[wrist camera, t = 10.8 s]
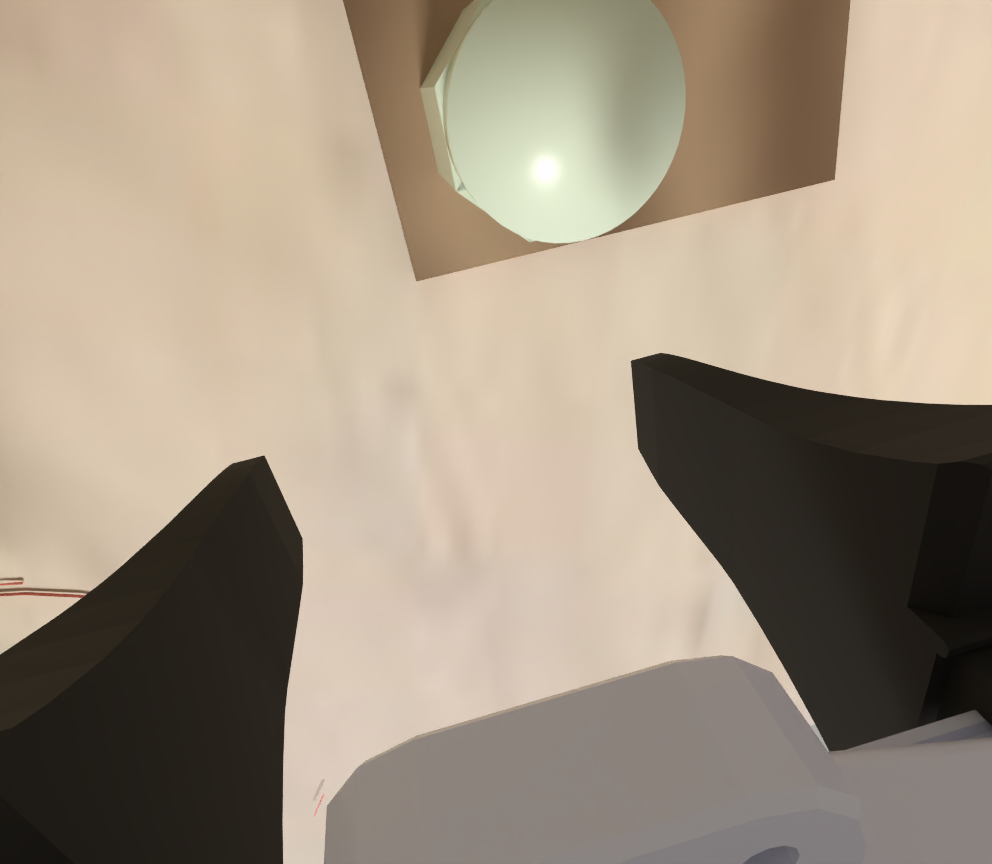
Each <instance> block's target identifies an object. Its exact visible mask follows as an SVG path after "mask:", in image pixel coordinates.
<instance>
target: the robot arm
mask: <svg viewBox="0 0 992 864" xmlns="http://www.w3.org/2000/svg"><path fill="white" fill-rule="evenodd" d="M631 367H632V379H633V391H634V403H635V415H636V427H637V439H638V449H639V451H640V453H641V454H642V456H643V458H644V460H645V462H646V464H647V466H648V467H649V469H650V471H651V473H652V474H653V476H654V478H655V480H656V481H657V483H658V485H659V486H660V488H661V489H662V490H663V492H664V493H665V494H666V496H667V497H668V498H669V499H670V501H671V502H672V503H673V505H674V506H675V507H676V509H677V510H678V511H679V512H680V514H681V515H682V516H683V518H684V519H685V520H686V521H687V523H688V524H689V525H690V526H691V528H692V529H693V530H694V531H695V533H696V534H697V535H698V537H699V538H700V539H701V540H702V542H703V543H704V544H705V545H706V547H707V548H708V549H709V551H710V552H711V553H712V554H713V556H714V557H715V558H716V559H717V561H718V562H719V563H720V565H721V566H722V567H723V569H724V570H725V572H726V573H727V574H728V576H729V577H730V579H731V580H732V581H733V583H734V584H735V586H736V588H737V589H738V591H739V592H740V594H741V596H742V597H743V599H744V601H745V602H746V604H747V605H748V607H749V609H750V610H751V612H752V614H753V615H754V617H755V618H756V620H757V622H758V623H759V625H760V627H761V628H762V630H763V632H764V634H765V635H766V637H767V639H768V640H769V642H770V644H771V646H772V647H773V649H774V651H775V652H776V654H777V656H778V658H779V659H780V661H781V663H782V664H783V666H784V668H785V670H786V671H787V673H788V675H789V677H790V679H791V681H792V682H793V684H794V686H795V688H796V690H797V691H798V693H799V695H800V697H801V699H802V701H803V702H804V704H805V706H806V708H807V710H808V712H809V713H810V715H811V717H812V719H813V721H814V723H815V724H816V726H817V728H818V730H819V732H820V734H821V736H822V737H823V740H824V742H825V744H826V745H827V747H828V749H829V752H828V751H827V750H826V748H825V747H824V745H823V744H822V742H821V741H820V740H819V738H818V737H817V735H816V734H815V733H814V731H813V730H812V728H811V727H810V725H809V724H808V723H807V721H806V720H805V718H804V717H803V715H802V714H801V713H800V711H799V710H798V708H797V707H796V706H795V704H794V703H793V701H792V700H791V698H790V697H789V696H788V694H787V693H786V691H785V690H784V689H783V687H782V686H781V684H780V683H779V681H778V680H777V679H776V677H775V676H774V674H773V673H772V672H770V671H767V670H765V669H762V668H760V667H757V666H755V665H752V664H750V663H748V662H745V661H743V660H740V659H738V658H735V657H733V656H713V657H703V658H694V659H685V660H676V661H669V662H666V663H662V664H659V665H656V666H652V667H649V668H645V669H642V670H639V671H635V672H632V673H628V674H625V675H622V676H618V677H615V678H611V679H608V680H605V681H601V682H598V683H594V684H591V685H588V686H584V687H581V688H577V689H574V690H571V691H567V692H564V693H561V694H557V695H554V696H550V697H547V698H544V699H540V700H537V701H533V702H530V703H527V704H523V705H520V706H516V707H513V708H510V709H506V710H503V711H499V712H496V713H493V714H489V715H486V716H482V717H479V718H476V719H472V720H469V721H465V722H462V723H459V724H455V725H452V726H449V727H445V728H442V729H438V730H435V731H432V732H428V733H425V734H421V735H418V736H415V737H413V738H411V739H409V740H407V741H405V742H403V743H401V744H399V745H397V746H395V747H393V748H391V749H389V750H387V751H385V752H383V753H381V754H379V755H377V756H375V757H373V758H371V759H369V760H367V761H365V762H364V763H363V764H361V765H360V766H359V767H358V768H357V769H356V770H355V771H354V773H353V774H352V775H351V776H350V778H349V779H348V780H347V781H346V783H345V784H344V785H343V786H342V788H341V789H340V790H339V791H338V793H337V794H336V795H335V796H334V798H333V799H332V800H331V802H330V803H329V804H328V805H327V815H326V834H325V853H324V864H992V405H950V404H925V403H912V402H899V401H885V400H875V399H866V398H858V397H851V396H844V395H838V394H831V393H824V392H818V391H813V390H807V389H802V388H797V387H793V386H789V385H784V384H780V383H775V382H771V381H767V380H763V379H759V378H755V377H751V376H747V375H744V374H740V373H736V372H733V371H729V370H726V369H722V368H719V367H715V366H712V365H708V364H705V363H701V362H698V361H694V360H691V359H687V358H683V357H679V356H675V355H671V354H664V353H659V354H655V355H651V356H647V357H643V358H640V359H636V360H632V361H631ZM302 586H303V542H302V537H301V535H300V532H299V530H298V528H297V526H296V524H295V521H294V519H293V517H292V515H291V513H290V510H289V508H288V506H287V504H286V502H285V500H284V497H283V495H282V493H281V491H280V489H279V486H278V484H277V482H276V480H275V478H274V475H273V473H272V471H271V469H270V467H269V465H268V462H267V460H266V458H265V456H260V457H256V458H253V459H249V460H245V461H241V462H237V463H233V464H231V465H230V466H228V467H227V468H226V469H225V470H223V471H222V472H221V473H220V474H219V475H218V476H217V477H216V478H214V479H213V480H212V481H211V482H210V483H209V484H208V485H207V486H206V487H205V488H204V489H203V490H202V491H201V492H200V493H199V494H198V495H197V496H196V497H195V498H194V499H193V500H192V501H191V502H190V503H189V504H188V505H187V506H186V507H185V508H184V509H183V510H182V511H181V512H180V513H179V514H178V515H177V516H176V517H175V518H174V519H173V520H172V521H171V522H169V523H168V524H167V525H166V526H165V527H164V528H163V529H162V530H161V531H160V532H159V533H158V534H157V535H156V536H154V537H153V538H152V539H151V540H150V541H149V542H148V543H147V544H146V545H145V546H143V547H142V548H141V549H140V550H139V551H138V552H137V553H136V554H135V555H134V556H132V557H131V558H130V559H129V560H128V561H127V562H126V563H125V564H124V565H123V566H121V567H120V568H119V569H118V570H117V571H115V572H114V573H113V574H112V575H111V576H109V577H108V578H107V579H106V580H104V581H103V582H102V583H101V584H100V585H98V586H97V587H96V588H94V589H93V590H92V591H91V592H89V593H88V594H87V595H85V596H84V597H83V598H81V599H80V600H79V601H77V602H76V603H75V604H74V605H72V606H71V607H70V608H68V609H67V610H65V611H64V612H63V613H61V614H60V615H59V616H57V617H56V618H54V619H53V620H51V621H50V622H48V623H47V624H45V625H44V626H42V627H41V628H39V629H38V630H36V631H35V632H33V633H32V634H30V635H29V636H27V637H26V638H24V639H23V640H21V641H20V642H18V643H17V644H16V645H14V646H13V647H11V648H10V649H8V650H7V651H5V652H4V653H2V654H1V655H0V864H283V830H282V812H283V751H284V722H285V706H286V696H287V687H288V680H289V674H290V667H291V661H292V654H293V648H294V641H295V635H296V628H297V622H298V615H299V608H300V601H301V593H302Z"/></svg>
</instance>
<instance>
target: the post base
mask: <svg viewBox="0 0 992 864" xmlns="http://www.w3.org/2000/svg"><path fill="white" fill-rule="evenodd" d="M473 1H474V0H343V2H344V5H345V9H346V13H347V17H348V21H349V25H350V28H351V32H352V36H353V40H354V44H355V48H356V52H357V55H358V59H359V63H360V67H361V71H362V75H363V78H364V82H365V86H366V90H367V94H368V98H369V101H370V105H371V109H372V113H373V117H374V121H375V124H376V128H377V132H378V136H379V140H380V144H381V148H382V151H383V155H384V159H385V163H386V167H387V171H388V174H389V178H390V182H391V186H392V190H393V194H394V197H395V201H396V205H397V209H398V213H399V217H400V220H401V224H402V228H403V232H404V236H405V240H406V244H407V247H408V251H409V255H410V259H411V263H412V267H413V270H414V274H415V278H416V281H420V280H424V279H428V278H432V277H436V276H440V275H444V274H449V273H453V272H457V271H461V270H465V269H469V268H473V267H477V266H481V265H486V264H490V263H494V262H498V261H502V260H506V259H510V258H514V257H518V256H523V255H527V254H531V253H535V252H539V251H543V250H547V249H551V248H555V247H560V246H564V245H568V244H572V243H576V242H572V243H548V242H540V241H532V242H528V241H527V240H525V239H524V238H523V237H521V236H520V235H518V234H516V233H514V232H512V231H511V230H509V229H507V228H506V227H504V226H502V225H501V224H500V223H498V222H497V221H496V220H495V219H493V218H492V217H491V216H490V215H489V214H488V213H486V212H485V211H483V210H482V209H481V208H479V207H478V206H476V205H475V204H473V203H472V202H470V201H469V200H468V199H466V198H465V197H463V196H462V195H460V194H459V193H457V192H456V191H455V190H454V189H453V188H452V187H451V186H450V185H449V184H448V183H447V181H446V180H445V179H444V178H443V177H442V176H441V175H440V174H439V173H438V169H437V164H436V160H435V155H434V151H433V146H432V141H431V137H430V132H429V128H428V123H427V118H426V114H425V109H424V105H423V100H422V95H421V91H420V87H421V86H422V84H423V82H424V80H425V78H426V76H427V75H428V73H429V71H430V69H431V67H432V65H433V64H434V62H435V60H436V58H437V56H438V54H439V53H440V51H441V49H442V47H443V45H444V43H445V42H446V40H447V38H448V36H449V34H450V32H451V31H452V29H453V27H454V25H455V23H456V21H457V20H458V18H459V16H460V14H461V12H462V10H463V9H464V8H466V7H467V6H468V5H469V4H470V3H471V2H473ZM651 1H652V2H653V4H654V5H655V6H656V7H657V8H658V9H659V11H660V12H661V14H662V16H663V17H664V19H665V20H666V22H667V23H668V25H669V27H670V29H671V31H672V34H673V36H674V38H675V40H676V43H677V46H678V49H679V52H680V55H681V60H682V65H683V70H684V76H685V89H686V101H685V115H684V122H683V128H682V132H681V136H680V140H679V144H678V147H677V150H676V152H675V155H674V158H673V160H672V162H671V165H670V167H669V169H668V171H667V173H666V175H665V176H664V178H663V180H662V181H661V183H660V184H659V186H658V187H657V189H656V190H655V192H654V193H653V194H652V195H651V197H650V198H649V199H648V200H647V202H646V203H645V204H644V205H643V206H642V207H641V208H640V209H639V210H638V211H637V212H636V213H635V214H633V215H632V216H631V217H630V218H628V219H627V220H626V221H624V222H623V223H622V224H620V225H618V226H617V227H615V228H613V229H612V230H610V231H608V232H606V233H603V234H601V235H599V236H597V237H601V236H605V235H609V234H613V233H617V232H621V231H625V230H629V229H634V228H638V227H642V226H646V225H650V224H654V223H658V222H662V221H666V220H670V219H675V218H679V217H683V216H687V215H691V214H695V213H699V212H703V211H707V210H712V209H716V208H720V207H724V206H728V205H732V204H736V203H740V202H744V201H749V200H753V199H757V198H761V197H765V196H769V195H773V194H777V193H781V192H786V191H790V190H794V189H798V188H802V187H806V186H810V185H814V184H818V183H823V182H827V181H831V180H835V169H836V158H837V147H838V135H839V124H840V112H841V101H842V90H843V78H844V67H845V56H846V44H847V33H848V21H849V10H850V0H651ZM597 237H593V238H597ZM590 239H592V238H590ZM587 240H588V239H587ZM578 242H580V241H578Z"/></svg>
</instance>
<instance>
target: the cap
mask: <svg viewBox="0 0 992 864" xmlns="http://www.w3.org/2000/svg"><path fill="white" fill-rule="evenodd" d="M420 91H421V95H422V100H423V105H424V109H425V114H426V118H427V123H428V128H429V132H430V137H431V141H432V146H433V151H434V155H435V160H436V164H437V169H438V173H439V174H440V175H441V176H442V177H443V178H444V179H445V180H446V181H447V183H448V184H449V185H450V186H451V187H452V188H453V189H454V190H455V191H456V192H457V193H459V194H460V195H462V196H463V197H465V198H466V199H468V200H469V201H470V202H472V203H473V204H475V205H476V206H478V207H479V208H481V209H482V210H483V211H485V212H486V213H488V214H489V215H490V216H491V217H492V218H493V219H495V220H496V221H497V222H498V223H500V224H501V225H502V226H504V227H506V228H507V229H509V230H511V231H512V232H514V233H516V234H518V235H520V236H521V237H523V238H524V239H525V240H527V241H528V242H532V241H540V242H548V243H572V242H578V241H584V240H587V239H590V238H593V237H597V236H599V235H601V234H603V233H606V232H608V231H610V230H612V229H613V228H615V227H617V226H618V225H620V224H622V223H623V222H624V221H626V220H627V219H628V218H630V217H631V216H632V215H633V214H635V213H636V212H637V211H638V210H639V209H640V208H641V207H642V206H643V205H644V204H645V203H646V202H647V200H648V199H649V198H650V197H651V195H652V194H653V193H654V192H655V190H656V189H657V187H658V186H659V184H660V183H661V181H662V180H663V178H664V176H665V175H666V173H667V171H668V169H669V167H670V165H671V162H672V160H673V158H674V155H675V152H676V150H677V147H678V144H679V140H680V136H681V132H682V128H683V122H684V115H685V101H686V89H685V76H684V70H683V65H682V60H681V55H680V52H679V49H678V46H677V43H676V40H675V38H674V36H673V34H672V31H671V29H670V27H669V25H668V23H667V22H666V20H665V19H664V17H663V16H662V14H661V12H660V11H659V9H658V8H657V7H656V6H655V5H654V4H653V2H652V1H651V0H474V1H473V2H471V3H470V4H469V5H468V6H467V7H466V8H464V9H463V10H462V12H461V14H460V16H459V18H458V20H457V21H456V23H455V25H454V27H453V29H452V31H451V32H450V34H449V36H448V38H447V40H446V42H445V43H444V45H443V47H442V49H441V51H440V53H439V54H438V56H437V58H436V60H435V62H434V64H433V65H432V67H431V69H430V71H429V73H428V75H427V76H426V78H425V80H424V82H423V84H422V86H421V87H420Z"/></svg>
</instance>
